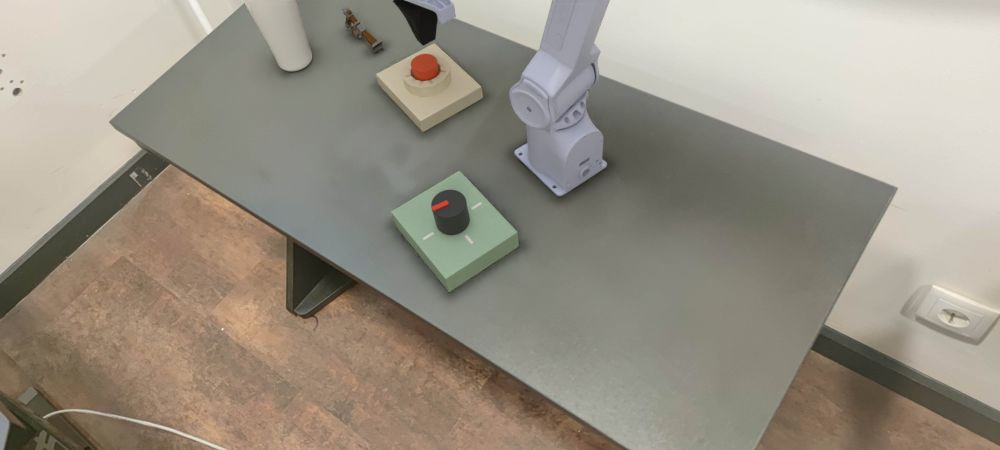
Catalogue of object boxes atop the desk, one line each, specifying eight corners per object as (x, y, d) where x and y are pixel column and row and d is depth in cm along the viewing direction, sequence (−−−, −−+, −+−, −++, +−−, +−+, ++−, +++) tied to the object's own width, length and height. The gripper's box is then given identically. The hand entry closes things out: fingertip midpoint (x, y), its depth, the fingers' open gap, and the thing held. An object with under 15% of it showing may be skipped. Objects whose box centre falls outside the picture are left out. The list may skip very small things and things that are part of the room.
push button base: (483, 98, 97) (480, 76, 94) (423, 132, 94) (417, 111, 91) (436, 54, 103) (432, 32, 100) (378, 85, 101) (372, 64, 97)
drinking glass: (273, 50, 107) (236, -36, 95) (317, 42, 107) (285, -45, 95) (273, 80, 103) (234, -6, 91) (319, 71, 103) (285, -16, 91)
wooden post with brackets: (347, 18, 108) (348, 1, 104) (381, 56, 108) (382, 39, 104) (338, 24, 108) (338, 7, 104) (371, 62, 107) (373, 46, 103)
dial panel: (519, 246, 82) (517, 231, 80) (449, 292, 80) (445, 278, 77) (462, 185, 89) (459, 169, 86) (395, 226, 86) (390, 210, 83)
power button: (443, 73, 96) (442, 63, 94) (421, 85, 95) (419, 75, 93) (429, 59, 97) (427, 49, 96) (408, 71, 96) (405, 61, 95)
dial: (461, 202, 83) (457, 182, 80) (475, 226, 81) (471, 206, 78) (430, 216, 82) (425, 196, 79) (443, 240, 80) (438, 221, 77)
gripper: (346, -67, 83) (373, 26, 94) (410, -11, 76) (431, 82, 87) (396, -90, 85) (416, 4, 96) (463, -38, 78) (477, 57, 89)
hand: (426, 39), depth 91 cm, fingers closed
